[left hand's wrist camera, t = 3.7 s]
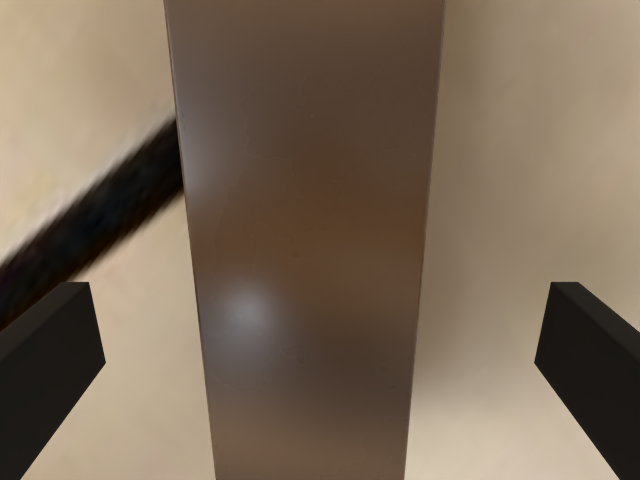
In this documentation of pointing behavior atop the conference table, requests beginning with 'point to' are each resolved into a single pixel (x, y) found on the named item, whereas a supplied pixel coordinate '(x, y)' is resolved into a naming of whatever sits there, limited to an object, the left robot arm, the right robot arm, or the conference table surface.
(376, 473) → the beam
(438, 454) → the conference table surface
